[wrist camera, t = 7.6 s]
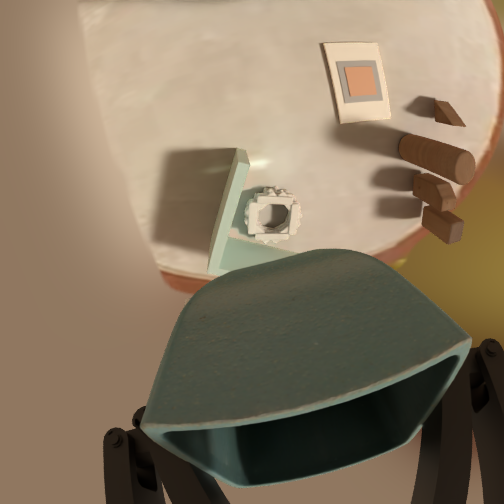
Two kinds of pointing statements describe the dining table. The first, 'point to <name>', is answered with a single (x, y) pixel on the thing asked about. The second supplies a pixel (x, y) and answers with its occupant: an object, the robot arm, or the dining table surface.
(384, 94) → the card
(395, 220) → the dining table surface
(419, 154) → the wooden block set
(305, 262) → the flower pot
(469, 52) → the dining table surface
